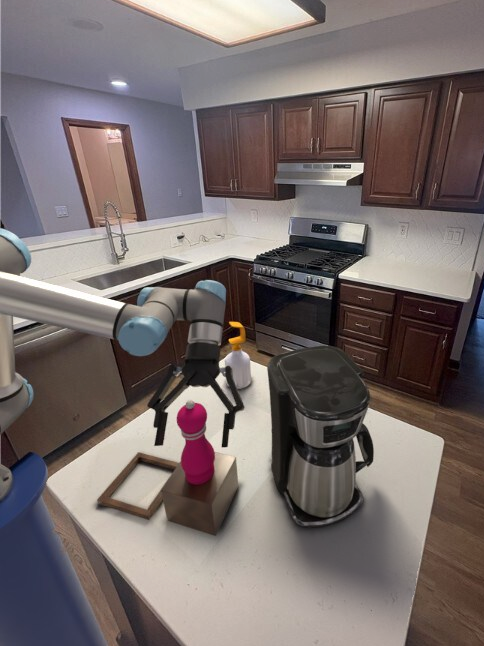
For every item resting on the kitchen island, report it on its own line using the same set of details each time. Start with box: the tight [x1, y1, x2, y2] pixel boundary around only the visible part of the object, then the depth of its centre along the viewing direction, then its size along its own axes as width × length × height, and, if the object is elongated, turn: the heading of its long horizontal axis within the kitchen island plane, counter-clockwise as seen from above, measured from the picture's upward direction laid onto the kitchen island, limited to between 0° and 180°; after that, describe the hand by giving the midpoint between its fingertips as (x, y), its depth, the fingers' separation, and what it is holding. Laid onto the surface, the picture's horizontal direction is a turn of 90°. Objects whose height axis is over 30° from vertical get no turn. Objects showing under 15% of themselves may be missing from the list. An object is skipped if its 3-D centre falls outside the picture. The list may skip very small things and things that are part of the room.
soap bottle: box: [224, 321, 252, 390], centre depth 112 cm, size 9×9×25 cm
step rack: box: [96, 451, 239, 537], centre depth 74 cm, size 30×14×10 cm, turn 75°
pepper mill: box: [176, 399, 216, 485], centre depth 66 cm, size 7×7×20 cm
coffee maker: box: [266, 345, 375, 528], centre depth 75 cm, size 23×32×34 cm
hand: (191, 446), depth 64 cm, fingers open, 13 cm apart
